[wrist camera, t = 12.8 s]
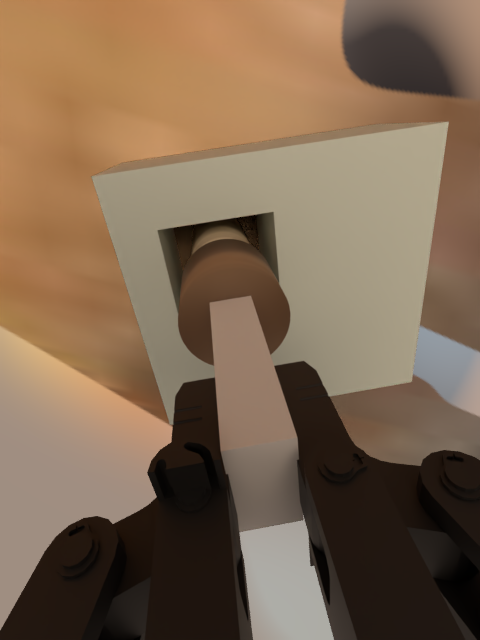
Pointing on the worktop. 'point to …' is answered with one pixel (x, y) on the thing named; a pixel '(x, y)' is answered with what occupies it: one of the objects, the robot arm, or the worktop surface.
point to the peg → (227, 286)
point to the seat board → (292, 244)
